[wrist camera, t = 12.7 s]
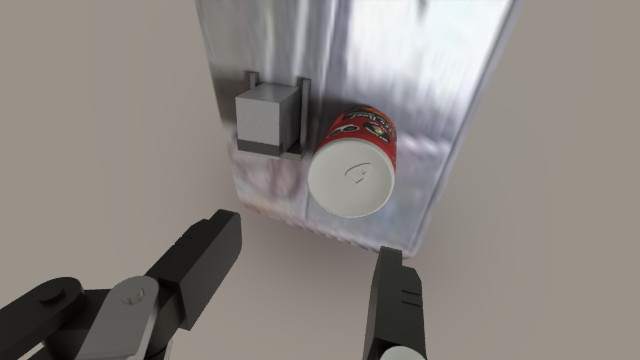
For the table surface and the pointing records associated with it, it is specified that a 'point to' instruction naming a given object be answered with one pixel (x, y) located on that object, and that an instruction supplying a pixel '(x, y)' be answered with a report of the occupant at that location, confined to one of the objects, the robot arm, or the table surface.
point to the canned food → (354, 164)
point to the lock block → (267, 120)
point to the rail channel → (300, 149)
